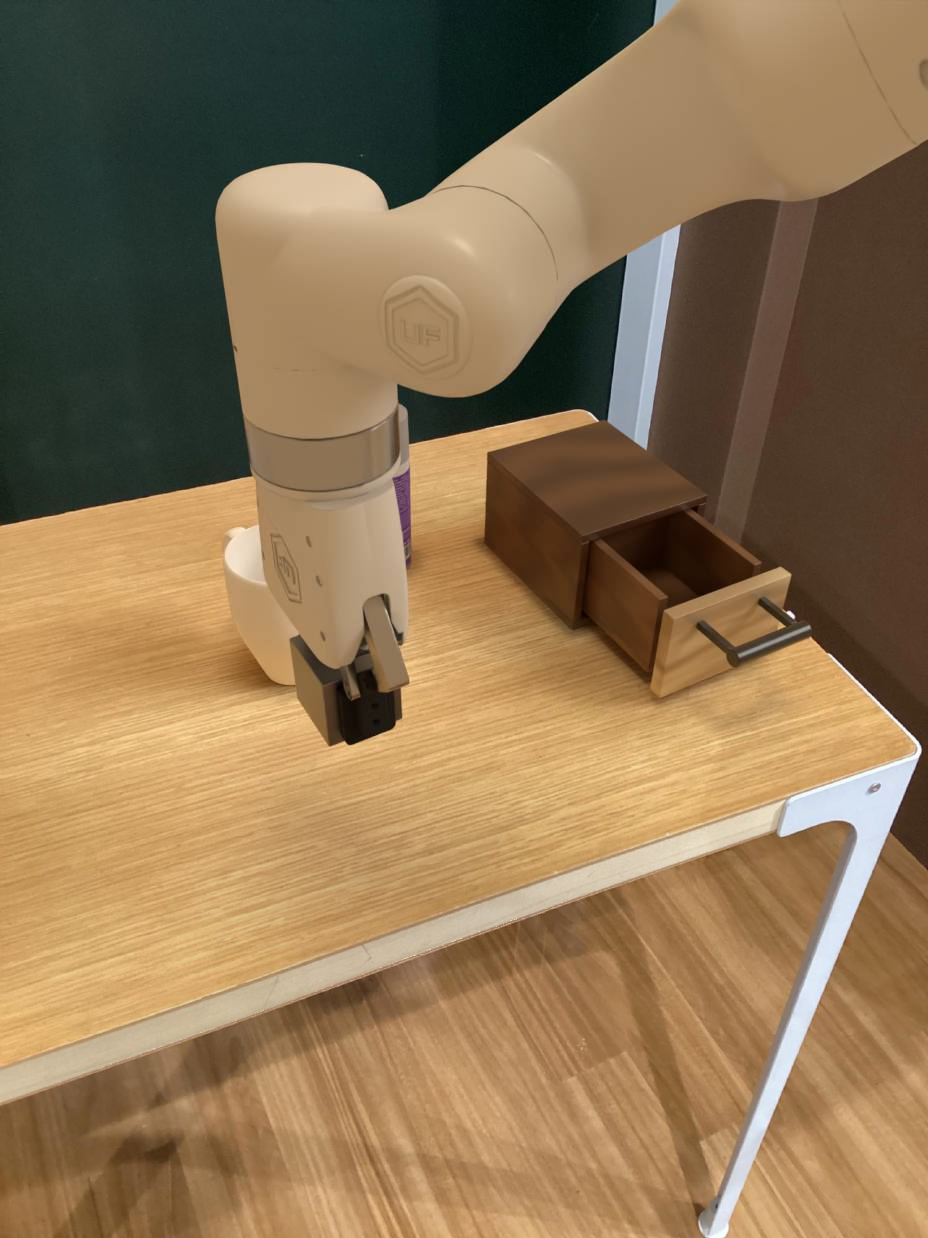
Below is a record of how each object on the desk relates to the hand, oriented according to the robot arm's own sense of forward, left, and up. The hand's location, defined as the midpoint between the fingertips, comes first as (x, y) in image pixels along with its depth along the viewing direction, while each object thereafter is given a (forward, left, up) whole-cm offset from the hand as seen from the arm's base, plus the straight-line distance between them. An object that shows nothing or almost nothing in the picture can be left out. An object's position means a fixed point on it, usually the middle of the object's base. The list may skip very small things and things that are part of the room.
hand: (349, 703), depth 64 cm
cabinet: (-7, -36, -12) cm, 39 cm away
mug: (+13, -15, -13) cm, 24 cm away
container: (+10, -30, -13) cm, 34 cm away
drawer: (-17, -27, -12) cm, 34 cm away
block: (0, 0, 0) cm, 0 cm away
